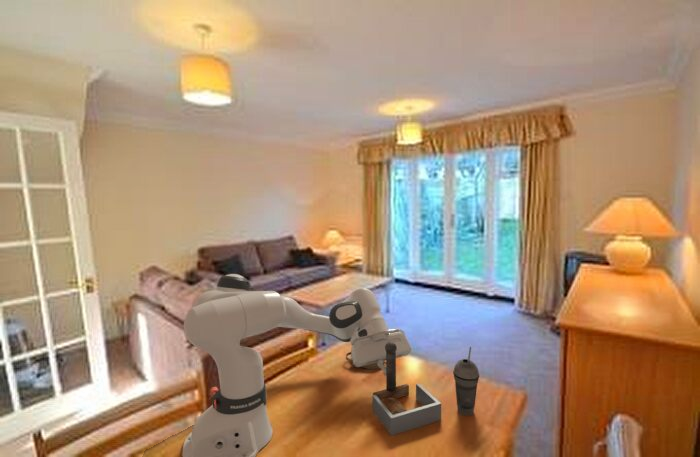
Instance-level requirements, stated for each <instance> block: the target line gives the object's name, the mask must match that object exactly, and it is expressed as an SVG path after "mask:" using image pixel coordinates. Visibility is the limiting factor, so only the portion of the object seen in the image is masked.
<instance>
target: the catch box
mask: <svg viewBox="0 0 700 457" xmlns="http://www.w3.org/2000/svg"><path fill="white" fill-rule="evenodd" d="M371 399H372V413H373V414H374V415H375V416H376V418H377V419H378V421H379V422H380V423H381V424H382V425H383V427H384V428H385V429H386V430H387V432H388V433H389V435H390V436H395V435H399V434H402V433H404V432H409V431H410V430H414V429H418V428H421V427H424V426H427V425H429V424H433V423H435V422H439V421H442V402H440V401H439V400H438V399H437V398H436V397H435V396H434V395H433V394H431V393H430V392H429V391H428V390H427V389H426V388H425V387H424V386H423V385H422V384H420V383H415V399H416V401H417V402H419V404H421V406H420V407H416V408H413V409H412V408H411V409H410V410H409V409H408V410H407V411H405V412H402V413H398V414H395V415H392V414H391V412H390V411H389V410H388V409H387V408H386V407H385V405H384V404H383V403H382V402H381V401H380V399H379V398H378V397H377V396H376V395H373V394H372V396H371Z"/></svg>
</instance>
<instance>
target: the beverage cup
mask: <svg viewBox="0 0 700 457" xmlns="http://www.w3.org/2000/svg"><path fill="white" fill-rule="evenodd" d="M471 352H472V347H471V346H469V348H468V357H467V358H465V359H464V358H463V359H460V360H458V361H457V362H456V363H455V365H454V367H453V371H452V372H453V379H454V383H455V384H454V385H455V386H454V387H455V397H456V406H457V412H458V413H459V414H461V415H462V416H466V417H467V416H468V417H469V416H472V415H473V414H475V411H474V410H475V406H476V399H477V398H476V397H477V390H478V383H479V380H480V379H479V378H480V372H479V368H478V366H477V365H476V364H475V362H473V361H472V360H471Z"/></svg>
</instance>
